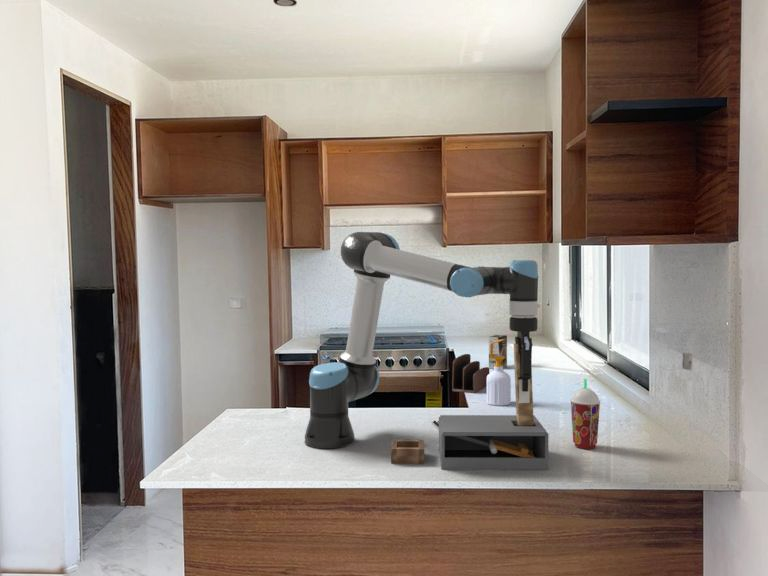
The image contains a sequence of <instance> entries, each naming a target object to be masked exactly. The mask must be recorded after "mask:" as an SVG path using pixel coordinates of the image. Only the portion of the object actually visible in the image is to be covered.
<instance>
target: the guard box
mask: <svg viewBox="0 0 768 576" xmlns="http://www.w3.org/2000/svg"><path fill="white" fill-rule="evenodd" d="M533 418H534V426H517V416H516V414H515V415H512V414H505V415H502V414H501V415H500V414H499V415H492V414H488V415H487V414H486V415H485V414H484V415H480V414H475V415H473V414H467V415H466V414H465V415H463V414H459V415H457V414H451V415H450V414H449V415H448V414H440V415H439V416H438V421H439V429H438V452H439V460H440V467H441V470H495V469H527V470H526V471H528V470H529V471H530V470H531V471H532V470H533V471H541V470H542V471H549V433H548V432H547V430H546V429H545V427H544V426H543V425H542V424H541V422H540V421H539V419H538V418H537V417H536V416H535V415H534V414H533ZM454 436H484V437H485V436H491V437H492V439H495V440H498V441H501V442H505V443H508V444H511V445H515V446H518V444H519V443H521V444H525V445H526V446H527V448H528V449H529V450H531V451H532V452H533V453H534V455H535V458H525V457H521V456H518V457H507V456H506V457H504V456H503V457H498V456H496V457H495V456H493V457H492V456H491V457H490V456H489V457H487V456H486V457H485V456H484V457H481V456H480V457H479V456H473V457H472V456H471V457H469V456H462V457H461V456H448V457H447V456H445V455H446V454H445V451H491V450H490V448H489V447H487V446H484V445H481V444H477V443H474V442H471V441H467V440H464V439H460V438H457V437H454Z"/></svg>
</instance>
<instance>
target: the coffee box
mask: <svg viewBox="0 0 768 576" xmlns="http://www.w3.org/2000/svg"><path fill="white" fill-rule="evenodd" d="M501 339H503V341H501V342H497V343H494V344H493V355H494V356H503V357H505V358H504V359H502V361H501V364H502V365H503V369H504V368H505V369H506V368H507V367H508V335H505V334H504V335H503V334H496V335H490V336H488V367H489V369H494V364H496V361H495V359H492V358H491V357H490V345H491V343H493V342H494V341H497V340H501Z"/></svg>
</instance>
